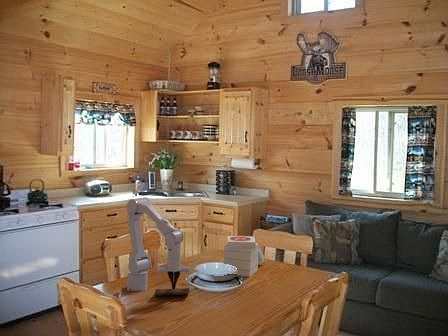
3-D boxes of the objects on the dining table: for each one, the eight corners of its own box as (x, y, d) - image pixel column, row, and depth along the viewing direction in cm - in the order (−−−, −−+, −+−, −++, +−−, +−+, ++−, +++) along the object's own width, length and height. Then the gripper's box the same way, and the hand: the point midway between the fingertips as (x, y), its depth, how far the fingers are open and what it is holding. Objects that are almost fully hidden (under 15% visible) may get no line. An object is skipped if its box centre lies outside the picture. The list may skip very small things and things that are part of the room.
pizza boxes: (267, 264, 277) (268, 233, 276) (252, 278, 249) (253, 244, 248) (236, 260, 284) (237, 230, 283) (218, 273, 256) (218, 240, 254)
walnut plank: (155, 292, 209) (155, 289, 210) (154, 296, 217) (154, 293, 217) (189, 291, 212) (189, 288, 212) (187, 295, 219) (187, 292, 220)
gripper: (157, 260, 206) (157, 291, 207) (191, 260, 208) (190, 290, 209) (157, 256, 213) (156, 286, 214) (189, 255, 215) (189, 285, 216)
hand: (173, 288), depth 212 cm, fingers closed
